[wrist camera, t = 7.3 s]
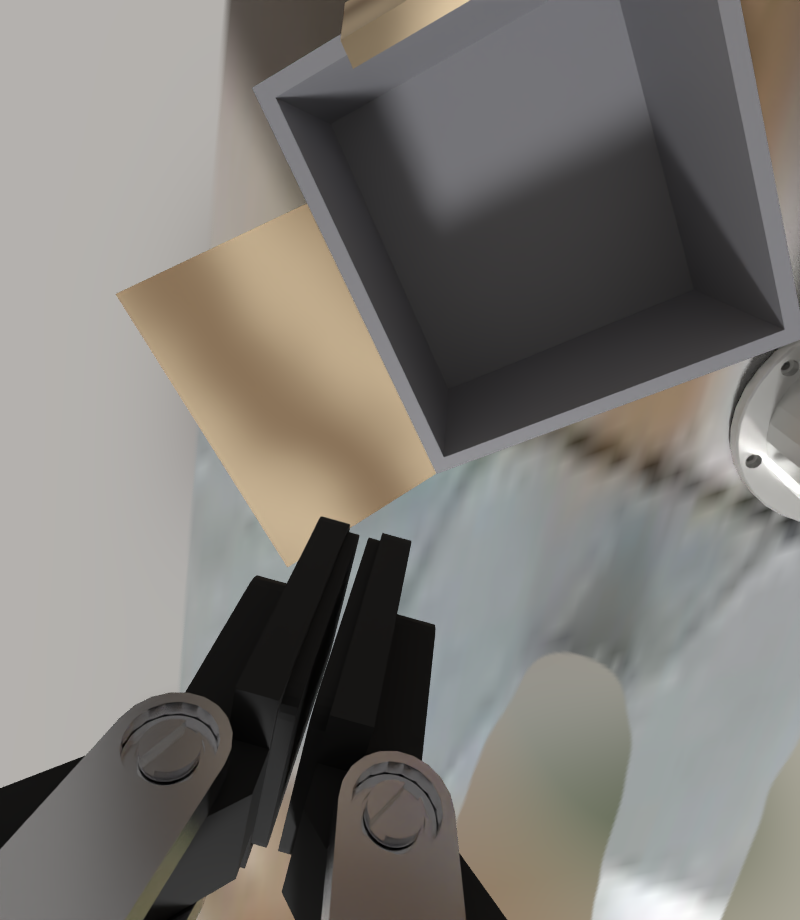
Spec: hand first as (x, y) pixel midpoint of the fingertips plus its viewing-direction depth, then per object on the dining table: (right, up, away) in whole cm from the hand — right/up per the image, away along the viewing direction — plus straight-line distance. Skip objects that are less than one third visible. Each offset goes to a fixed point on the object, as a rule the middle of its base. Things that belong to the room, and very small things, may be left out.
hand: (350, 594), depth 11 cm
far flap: (-3, +5, +12) cm, 13 cm away
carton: (+7, +15, +19) cm, 26 cm away
